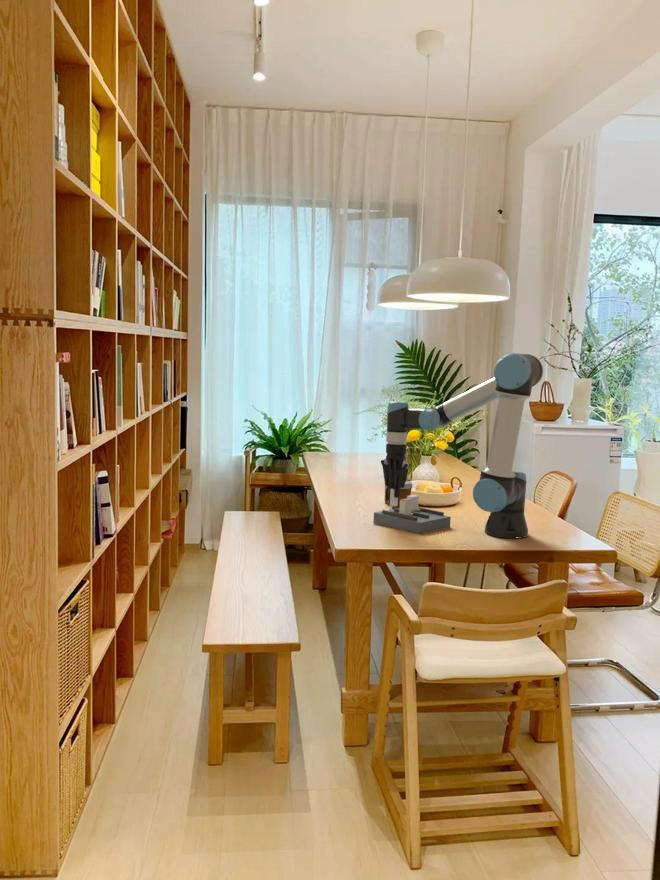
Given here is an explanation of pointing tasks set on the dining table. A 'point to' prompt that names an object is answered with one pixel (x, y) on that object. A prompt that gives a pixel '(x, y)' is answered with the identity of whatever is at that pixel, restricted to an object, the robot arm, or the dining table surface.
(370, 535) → the dining table surface
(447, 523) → the dark grey tray
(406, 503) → the breaker slider
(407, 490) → the disposable coffee cup
